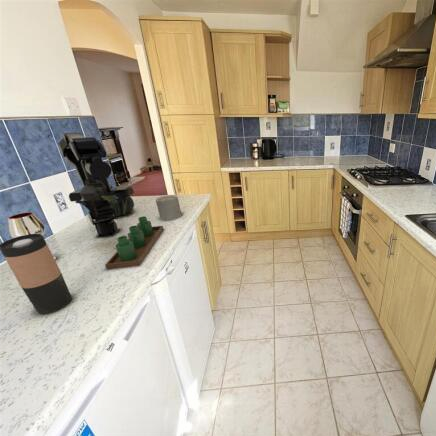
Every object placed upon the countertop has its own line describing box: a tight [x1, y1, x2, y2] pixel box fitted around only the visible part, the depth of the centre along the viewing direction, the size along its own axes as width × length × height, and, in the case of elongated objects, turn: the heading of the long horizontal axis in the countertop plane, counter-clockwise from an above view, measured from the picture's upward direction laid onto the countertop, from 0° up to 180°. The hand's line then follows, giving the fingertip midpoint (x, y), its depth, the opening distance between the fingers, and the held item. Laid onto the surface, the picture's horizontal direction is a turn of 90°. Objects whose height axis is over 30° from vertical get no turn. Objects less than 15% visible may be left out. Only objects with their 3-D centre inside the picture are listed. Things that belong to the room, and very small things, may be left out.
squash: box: [102, 187, 135, 217], centre depth 125 cm, size 14×15×15 cm
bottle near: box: [136, 215, 154, 238], centre depth 102 cm, size 5×5×8 cm
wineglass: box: [7, 211, 57, 261], centre depth 83 cm, size 8×8×18 cm
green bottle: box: [115, 235, 137, 262], centre depth 85 cm, size 5×5×8 cm
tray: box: [104, 225, 165, 270], centre depth 95 cm, size 10×29×2 cm, turn 11°
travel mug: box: [0, 234, 73, 315], centre depth 63 cm, size 8×8×20 cm
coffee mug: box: [155, 194, 182, 221], centre depth 123 cm, size 13×10×10 cm
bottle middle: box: [126, 225, 146, 249], centre depth 94 cm, size 5×5×8 cm
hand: (110, 215), depth 92 cm, fingers open, 9 cm apart
